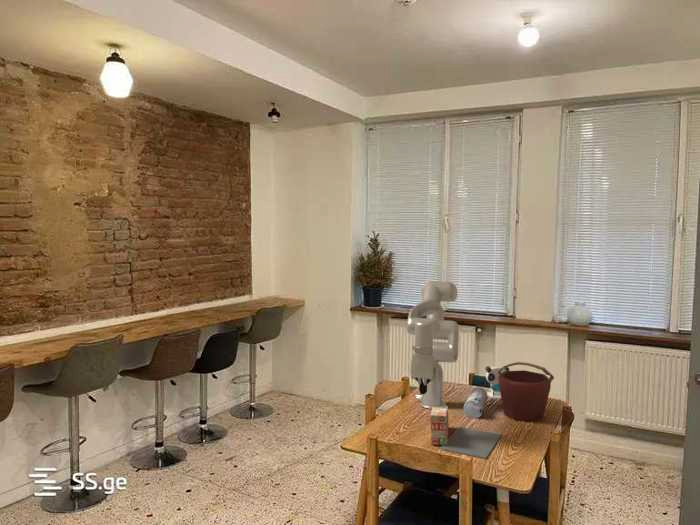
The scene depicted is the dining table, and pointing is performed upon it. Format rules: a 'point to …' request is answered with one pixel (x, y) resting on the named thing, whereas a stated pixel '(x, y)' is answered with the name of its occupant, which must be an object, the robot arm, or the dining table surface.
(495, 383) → the panda figurine
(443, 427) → the stack of blocks
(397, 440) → the dining table surface
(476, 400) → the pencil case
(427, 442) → the dining table surface
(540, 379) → the bucket
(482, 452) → the rubber mat
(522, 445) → the dining table surface
